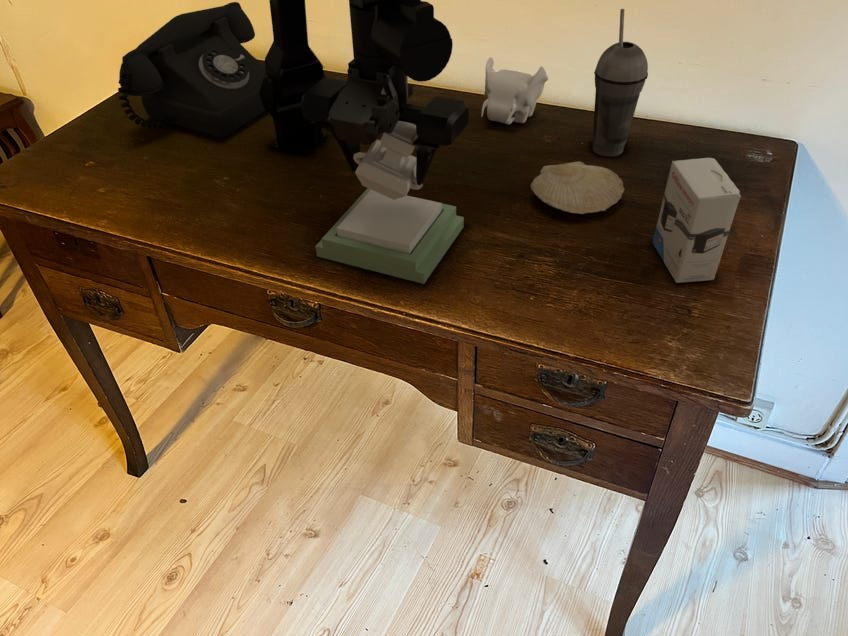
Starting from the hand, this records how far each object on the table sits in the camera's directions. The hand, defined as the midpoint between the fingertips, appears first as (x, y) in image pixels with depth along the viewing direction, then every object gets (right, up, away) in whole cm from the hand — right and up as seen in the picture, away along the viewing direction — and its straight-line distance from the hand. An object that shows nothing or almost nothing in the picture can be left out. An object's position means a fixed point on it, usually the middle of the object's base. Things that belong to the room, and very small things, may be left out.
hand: (387, 176), depth 89 cm
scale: (0, -7, +6) cm, 9 cm away
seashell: (+26, 0, +12) cm, 28 cm away
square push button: (0, -5, +5) cm, 7 cm away
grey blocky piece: (-1, -1, +1) cm, 2 cm away
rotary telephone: (-30, +20, +35) cm, 50 cm away
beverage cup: (+33, +9, +21) cm, 40 cm away
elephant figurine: (+19, +17, +29) cm, 39 cm away
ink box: (+36, -10, +1) cm, 38 cm away
